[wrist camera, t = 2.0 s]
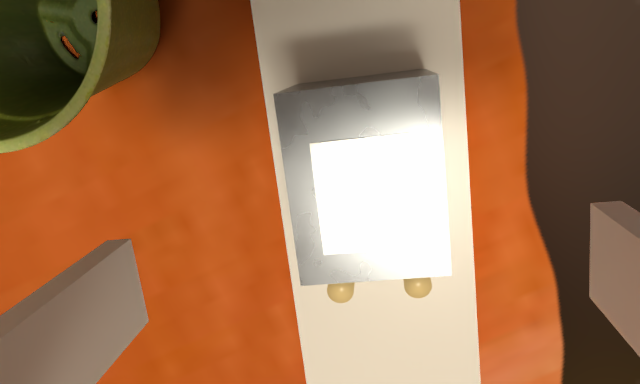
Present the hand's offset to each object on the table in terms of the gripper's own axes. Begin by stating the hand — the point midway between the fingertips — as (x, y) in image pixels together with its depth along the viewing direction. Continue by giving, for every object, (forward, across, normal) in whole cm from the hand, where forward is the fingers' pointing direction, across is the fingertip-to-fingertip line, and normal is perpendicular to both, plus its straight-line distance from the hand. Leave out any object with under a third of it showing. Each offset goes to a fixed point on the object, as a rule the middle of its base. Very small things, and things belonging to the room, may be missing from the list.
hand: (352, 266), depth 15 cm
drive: (+16, 0, 0) cm, 16 cm away
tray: (+17, 0, -5) cm, 17 cm away
